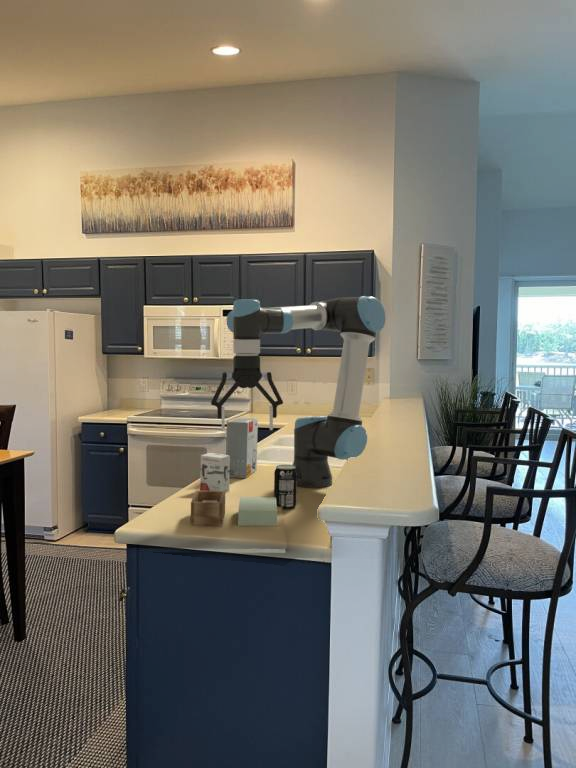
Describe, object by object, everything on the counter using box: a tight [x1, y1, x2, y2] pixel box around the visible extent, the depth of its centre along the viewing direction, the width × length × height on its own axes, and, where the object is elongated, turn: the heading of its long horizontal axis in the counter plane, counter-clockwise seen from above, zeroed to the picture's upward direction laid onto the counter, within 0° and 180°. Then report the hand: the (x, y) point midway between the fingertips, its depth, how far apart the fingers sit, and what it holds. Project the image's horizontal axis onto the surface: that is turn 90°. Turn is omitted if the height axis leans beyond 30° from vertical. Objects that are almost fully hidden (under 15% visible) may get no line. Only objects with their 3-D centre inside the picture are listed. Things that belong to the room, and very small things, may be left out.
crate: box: [190, 490, 226, 528], centre depth 166 cm, size 8×13×7 cm, turn 3°
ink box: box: [199, 452, 230, 493], centre depth 201 cm, size 9×5×12 cm, turn 62°
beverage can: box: [273, 464, 298, 510], centre depth 183 cm, size 7×7×12 cm
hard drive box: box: [226, 417, 259, 479], centre depth 228 cm, size 16×8×20 cm, turn 168°
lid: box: [237, 496, 278, 527], centre depth 168 cm, size 10×14×5 cm
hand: (247, 429), depth 177 cm, fingers open, 13 cm apart
